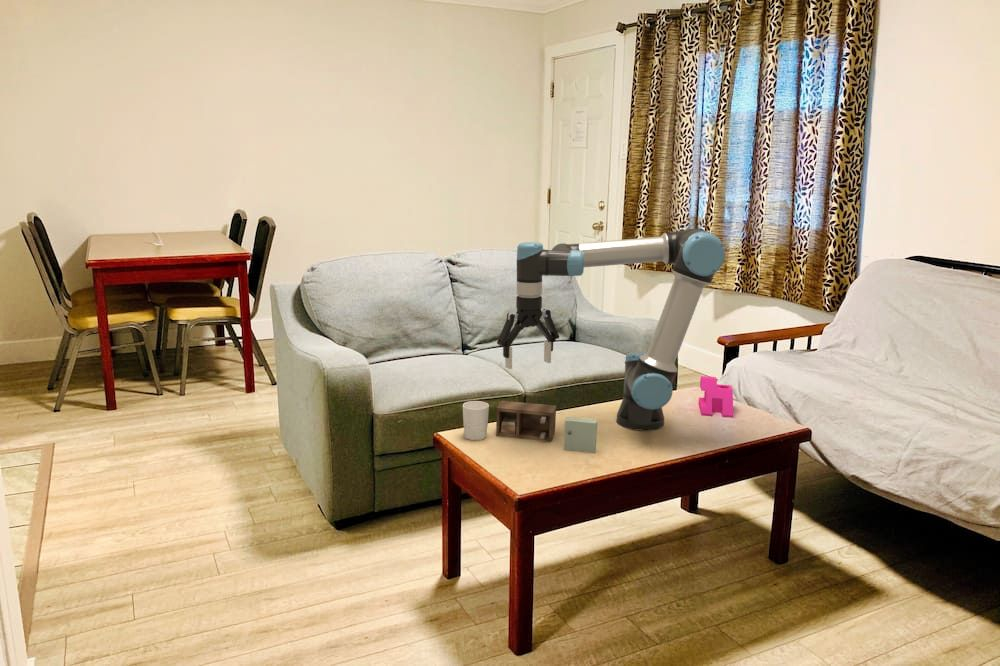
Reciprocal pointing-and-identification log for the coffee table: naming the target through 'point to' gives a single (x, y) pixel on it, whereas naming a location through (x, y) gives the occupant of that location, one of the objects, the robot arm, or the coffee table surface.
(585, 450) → the sage door
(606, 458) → the coffee table surface
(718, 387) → the pink notched block
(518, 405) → the walnut cabinet
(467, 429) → the white cup
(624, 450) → the coffee table surface
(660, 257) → the robot arm
